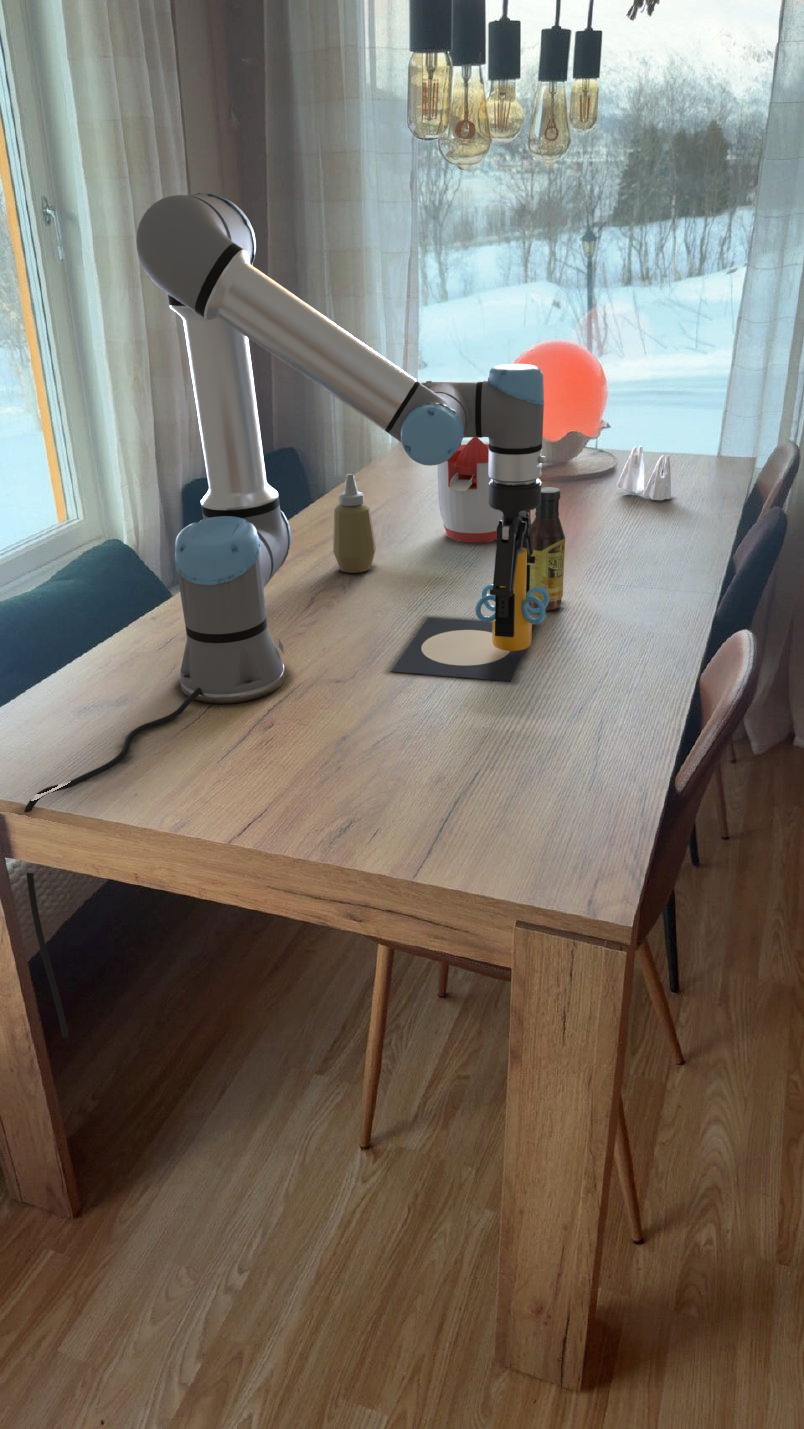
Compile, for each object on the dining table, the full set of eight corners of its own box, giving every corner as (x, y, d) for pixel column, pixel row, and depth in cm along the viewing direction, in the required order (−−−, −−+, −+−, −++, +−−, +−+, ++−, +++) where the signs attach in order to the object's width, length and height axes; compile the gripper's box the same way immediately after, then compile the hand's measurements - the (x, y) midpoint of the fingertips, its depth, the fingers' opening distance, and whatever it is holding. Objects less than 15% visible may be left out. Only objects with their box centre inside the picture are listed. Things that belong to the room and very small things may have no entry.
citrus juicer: (422, 546, 211) (419, 445, 202) (454, 521, 225) (452, 426, 216) (496, 553, 205) (496, 450, 196) (524, 528, 219) (525, 430, 210)
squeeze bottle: (385, 567, 200) (381, 473, 192) (355, 578, 195) (349, 482, 187) (355, 559, 205) (350, 466, 197) (325, 570, 200) (318, 475, 192)
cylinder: (542, 662, 156) (545, 565, 149) (472, 658, 158) (472, 562, 151) (549, 630, 166) (552, 538, 159) (483, 627, 168) (484, 536, 161)
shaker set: (614, 495, 239) (617, 446, 234) (623, 491, 242) (626, 442, 237) (663, 502, 232) (666, 452, 227) (672, 498, 235) (675, 448, 230)
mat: (510, 681, 153) (510, 681, 153) (391, 671, 157) (391, 671, 157) (535, 625, 171) (535, 624, 171) (428, 618, 176) (428, 617, 176)
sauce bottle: (552, 615, 175) (556, 497, 166) (518, 609, 178) (520, 493, 169) (569, 602, 180) (573, 487, 171) (535, 596, 183) (538, 483, 174)
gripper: (526, 503, 139) (522, 653, 149) (554, 459, 160) (549, 593, 169) (470, 500, 141) (470, 648, 151) (505, 458, 162) (503, 590, 171)
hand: (512, 619), depth 160 cm, fingers closed on cylinder, 12 cm apart
